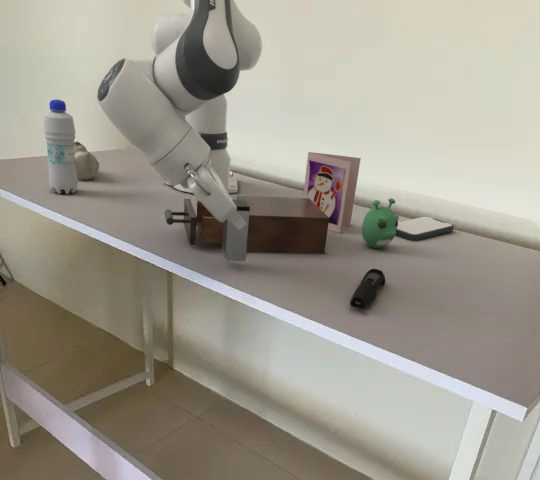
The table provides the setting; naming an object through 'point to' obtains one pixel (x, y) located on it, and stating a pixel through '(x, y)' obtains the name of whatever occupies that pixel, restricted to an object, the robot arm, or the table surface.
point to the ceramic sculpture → (85, 162)
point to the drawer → (197, 223)
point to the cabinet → (285, 225)
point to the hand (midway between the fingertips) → (239, 221)
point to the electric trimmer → (367, 288)
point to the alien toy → (380, 225)
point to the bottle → (60, 148)
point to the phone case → (422, 228)
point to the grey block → (236, 235)
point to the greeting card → (332, 186)
